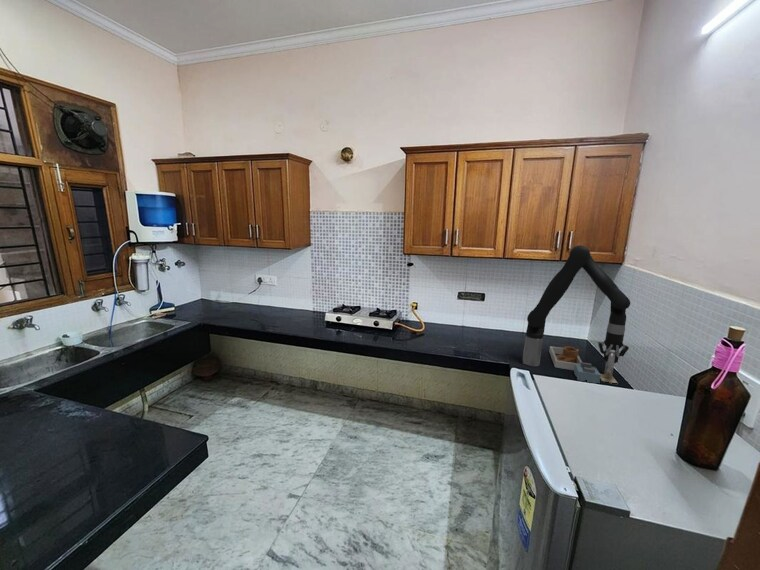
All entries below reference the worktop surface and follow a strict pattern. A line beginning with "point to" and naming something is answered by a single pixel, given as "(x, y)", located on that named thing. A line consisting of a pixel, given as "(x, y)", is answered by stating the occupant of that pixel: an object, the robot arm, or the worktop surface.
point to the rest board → (608, 379)
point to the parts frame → (561, 363)
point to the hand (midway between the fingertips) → (610, 361)
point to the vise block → (587, 373)
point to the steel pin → (610, 364)
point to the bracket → (568, 355)
